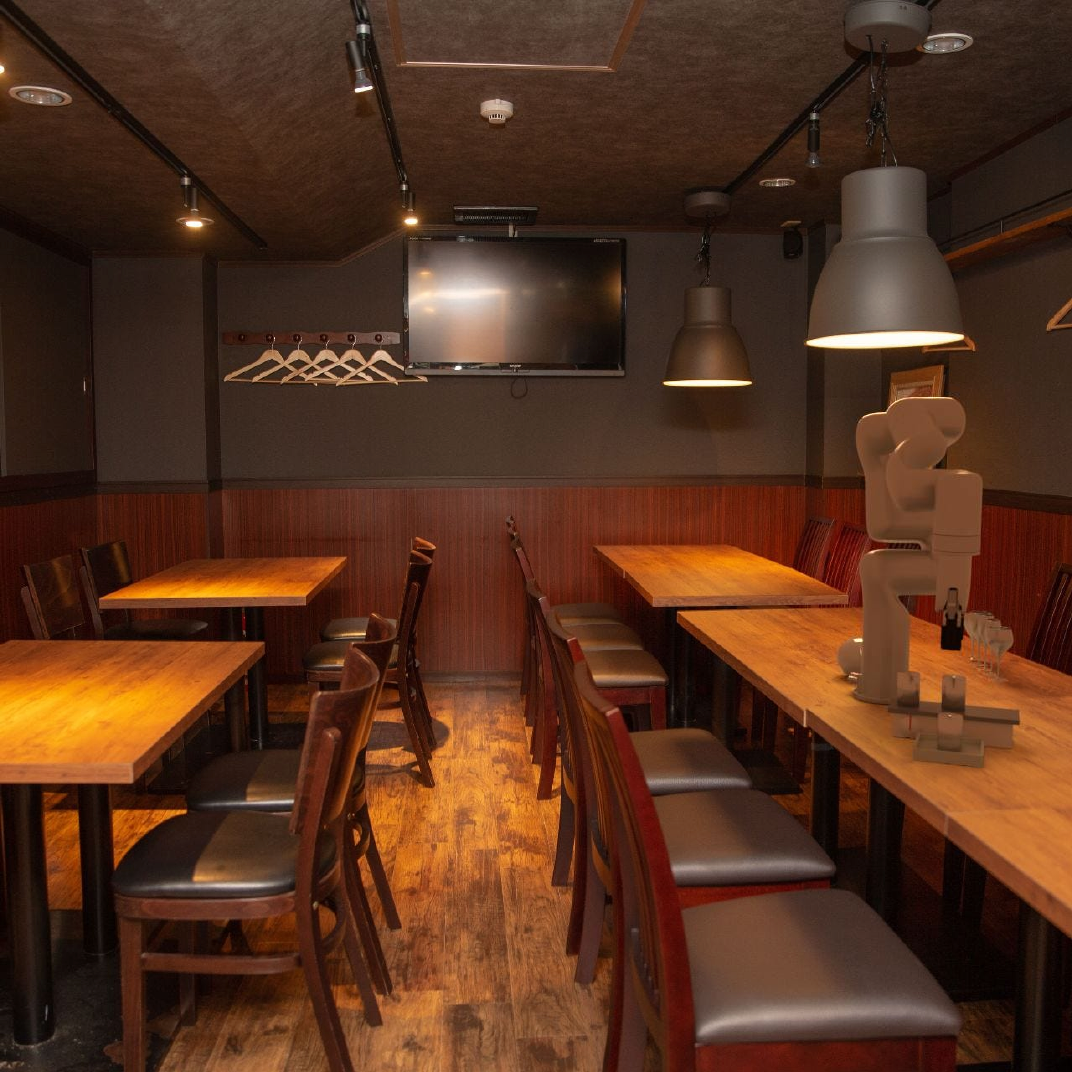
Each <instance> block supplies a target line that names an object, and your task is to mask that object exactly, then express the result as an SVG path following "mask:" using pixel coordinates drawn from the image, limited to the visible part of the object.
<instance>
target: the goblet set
mask: <svg viewBox="0 0 1072 1072" xmlns="http://www.w3.org/2000/svg"><path fill="white" fill-rule="evenodd" d="M963 617H964V630H965V631H966V633H967V634H968V636H969V638H970V641H971V657H968V658H969V660H976V659H978V662H972V663H973V664H975V665H983V664H982V662H979V660H981V659H980V657H981V655H980V654H981V646H982V645H983V653H984V654H983V655H984V657H983V658H984V659H983V660H984V662H983V663H984V667H979V668H980V669H984V670H989V668H988V667H986V664H987V663H986V661H987V650H988V649H987V648H988V647H989V651H990V669H991V671H987V672H984V673H985V674H989V675H996V672H994V671H992V669H993V662H994V661H993V658H994V654H995V656H996V660H997V662H996V663H997V676H994V677H995V678H991V677H989V678H990V679H991V680H995V681H1006V679H1007V678H1005V679H1004V677H1000V676H999V674H1000V665H1001V664H1000V663H1001V659H1002V657H1003V655H1004V653H1006V652H1007V651H1008V650H1009V649H1010V648H1011V647H1012V646H1013V643H1014V634H1013V631H1012V629H1011V627H1008V626H1007V627H1006V626H1002V624H1001V620H1000V619H997V618H995V615H994V614H992V612H990V611H984V610H971V611H966V612H965V613H964V614H963ZM975 642H977V658H975V657H974V653H975V652H974V651H975V649H974V648H975ZM995 681H994V682H995Z"/></svg>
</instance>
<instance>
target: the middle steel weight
mask: <svg viewBox="0 0 1072 1072" xmlns="http://www.w3.org/2000/svg"><path fill="white" fill-rule="evenodd" d="M941 682H942V683H941V703H942V704H941V708H942V709H943V710H946V711H952V712H962V711H965V705H966V692H967V691H966V688H967V677H966V676H965V675H961V674H954V673H950V674H949V673H947V674H942V681H941Z"/></svg>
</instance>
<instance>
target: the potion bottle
mask: <svg viewBox="0 0 1072 1072" xmlns="http://www.w3.org/2000/svg"><path fill="white" fill-rule="evenodd" d="M836 660H837V664H838V665H839V667H840V669H841V671H842V672H843V674H845V675H847V676H849V675H850V673H851V672H854V673H859V674H861V666H862V636H855V637H854V636H853V637H850V638H848V639H847V640H845V641H844V642H842V643H841V644H840V646H839V648H838V651H837V653H836Z"/></svg>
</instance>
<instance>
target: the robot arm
mask: <svg viewBox="0 0 1072 1072" xmlns="http://www.w3.org/2000/svg"><path fill="white" fill-rule="evenodd" d="M966 421H967V418H966V413H965V410H964V408H963V406H962V404H961V403H960V402H959V401H958V400H956V399H955V398H952V397H945V396H944V397H941V396H940V397H931V396H930V397H928V396H927V397H924V396H923V397H918V396H917V397H904V398H901V399H898V400H896V401H894V402H893V403H892V404H890V406H888V409H887V410H886V411H885V412H874V413H869V414H867V415H864V416H862V417H861V418H860V419H859V421H858V423H857V426H856V429H855V430H856V431H855V445H856V446H855V447H856V451H857V454H858V458H859V461H860V464H861V466H862V469H863V474H864V477H865V478H864V481H865V522H866V531H867V534H868V537H869V538H870V539H871V540H873V541H875V542H878V543H887V544H889V543H892V544H894V543H895V544H898V543H899V544H918V545H919V546H920V548H921V549H905V548H904V549H903V548H882V549H881V548H880V549H874V550H871V551H869V552H867V553H865V554H864V555H863V556H862V558H861V560H860V561H859V562H860V563H859V579H860V585H861V587H860V588H861V594H862V630H861V631H862V633H861V634H862V635H861V637H862V666H861V674H859V673H854V672H851V673H850V675H847V679H846V680H847V682H848V683H852V684H856V688H854V689H853V691H852V693H853V694H852V696H853V697H854V698H855V699H857V700H858V701H861V702H862V701H863V702H866V703H873V704H878V705H889V704H890V701H891V699H892V698H894V699H897V672H898V671H910V646H911V643H910V642H911V641H910V639H911V615H910V613H909V611H908V609H907V608H906V607H905V605H904V604H903V603H902V602H901V600H900V599H899V596H934V595H935V604H934V611H935V612H936V613H940V611H943V615H942V625H941V626H940V628H941V629H940V649H941V650H943V651H954V652H955V651H956V652H960V651H962V643H963V642H962V641H963V640H964V633H965V632H964V630H965V627H964V614H965V612H967V608H968V605H969V598H970V590H971V578H972V561H973V560H972V559H973V556H974V557H975V556H980V554H981V534H982V533H981V532H982V529H981V528H982V513H983V512H982V507H983V486H984V485H983V483H984V482H983V478H982V476H981V475H980V474H979V473H976V472H971V471H969V470H967V469H966V470H965V469H958V468H957V469H950V468H949V469H945V468H944V469H943V468H933V467H934V466H936V465H937V464H939V463H940V461H941V460H943V459H944V458H945V457H944V456H945V455H946V452H947V449H948V447H950V446H951V445H953V444H955V443H956V442H957V441H958V440H960V438H961V437H962V435H964V431H965V428H966Z"/></svg>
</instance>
